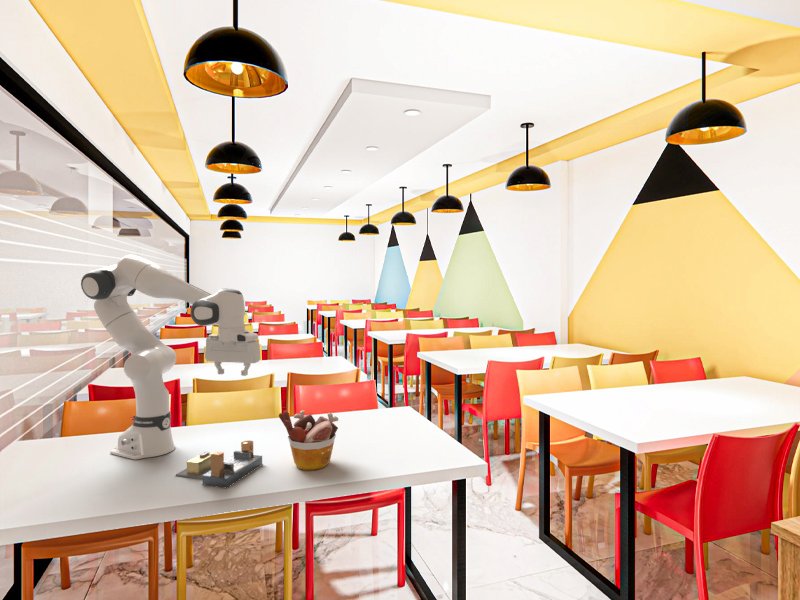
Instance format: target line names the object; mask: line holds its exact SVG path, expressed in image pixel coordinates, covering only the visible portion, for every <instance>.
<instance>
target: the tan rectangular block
mask: <svg viewBox="0 0 800 600" xmlns="http://www.w3.org/2000/svg"><path fill="white" fill-rule="evenodd" d="M211 454H212V453H210V451H204V452H202V453H200V454H198V455H196V456H194V457H193V458H191V459H189V460H187V461H186V468H187V474H195V475H199V474H201V473H203V472H205V471H206V470H208V469H210V468H211Z"/></svg>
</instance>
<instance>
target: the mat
mask: <svg viewBox="0 0 800 600" xmlns="http://www.w3.org/2000/svg"><path fill="white" fill-rule="evenodd" d="M209 471H211V468H210V469H208V470H206V471H205V472H203V473H201V474H199V475H195V474H187V467H186V468H185V469H183V470H181V471H178V472H177V473H175V477H180V478H187V479H188V478H189V479H196V480H202V475H204V474H205V473H207V472H209Z"/></svg>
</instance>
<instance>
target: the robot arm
mask: <svg viewBox="0 0 800 600" xmlns="http://www.w3.org/2000/svg"><path fill="white" fill-rule="evenodd" d="M80 281H81V282H80V286H81V290H82V292H83V294H84V295H85V297H88V298H89V299H92V300H95V301H94V303H93V309H94V311H95V313H96V315H97V317H98V319H99V320H100V322H101V324H102V325H103V327H104V328H105V330H106V331H107V332H108V333H109V335H110V336H111V337H112V339H113V340H114V342H115V343H116V344H117V346H118V347H120V348H123V349H124V350H126V351H127V352H129V353H130V354H131V355H130V356H129V357H128V358H126V359H125V361H124V364H123V372H124V374H125V376H126V377H127V378H129V380H130V381H131V383H132V387H133V390H134V395H135V407H136V408H135V410H136V414H135V415H134V416H131V417H130V421H132V425H131V426H128V428H127V429H126V430H124V431H123V432H122V433H121V434H119V436H118V439H117V446H115V447H113V448H111V450H110V455H115V456H117V457H118V456H119V457H123V458H127V459H131V460H140V459H145V458H146V459H147V458H152V457H158V456H162V455H166V454H169V453H170V452H173V451H174V450H175V449H176V446H175V444H174V439H173V434H172V427H171V423H172V414H171V411H170V392H169V390H168V389H167V388H166V386H165V382H164V380H163V379H164V378H163V374H165V373H167V372H169V371H170V370H171V369H172V368H173V367H174V366H175V364H176V363H177V353H176V351H175V350H174V349H173V348H172V347H170V346H168V345H167V344H165V343H163V342H162V341H161V340H160V339H159V338H158V337H157V336H156V335H154V333H152V332H151V330H149V329H148V327H147V326H146V325H145V324H144V323H143V321H142V320H141V319H140V317H139V316H138V315H137V313H136V312H135V310H134V309H133V308H132V307H131V306H130V304H129V303H128V297H132V296H133V295H134V294H135V293H136V290H137V291H138V292H140V293H141V294H144V295H146V296H148V297H152V298H155V299H169V300H170V299H171V300H180V301H183V302H187V303H188V304H190V305H191V307H190V317H191V320H192V321H193V323H195V324H196V325H198V326H201V327H208V326H209V327H210V326H215V325H217V329H218V330H217V332H218V334H209V335H208V336H207V337H206V339H205V351H204V359H205V360H206V362H214V366H215V368H216V370H217V375H224V374H225V368H223V367H222V365H221V364H222V363H238V364H241V363H242V364H243V366H244V368H243V369H242V370H241V371H240V375H241V377H243V376H244V377H246V376H249V375H248V372H249V370H250V367H251V364H256V363H259V362H260V360H261V348H260V343H259V342H258V340H259V334H258V333H255V332H253V331H250V330H248V329H246V324H245V321H244V319H245V315H246V310H245V309H246V307H245V299H244V295H243V293H242V292H241V291H240V290H238V289H233V288H221V289H219V290H217V292H215V293H214V294H211V293H210V292H207V291H205V290H204V289H201V288H199V287H198V286H195V285H193V284H191V283H189V282H187V281H186V280H183V279H182V278H179V277H178V276H176V275H174V274H173V273H172V272H170V271H168V270H167V269H165V268H163V267H162V266H159V265H158V264H156V263H155V262H153V261H151V260H148V259H146V258H143V257H141V256H137V255H134V254H128V255H124V256H123V257H121V258H120V259H119V261H118V262H117V263H116V264H112V265H107V266H105V267H101V268H98V269H93V270H90V271H89V272H87V273H85V274H84V275H83V276H82V277H81V280H80Z"/></svg>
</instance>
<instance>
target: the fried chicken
mask: <svg viewBox="0 0 800 600" xmlns="http://www.w3.org/2000/svg"><path fill="white" fill-rule="evenodd" d="M305 413H306V411H305V409H304V410H300V412H299V413H295V414H294V415H293V418H294V419H298V420H296V421H295V422H294V424H292V420H291V419H292V418H291V416H290V413H289V412H288V411H287V410H284V411H283V413H282V412H280V413H279V414H278V418H279V420H280V421H281V422H282V424H283V425H284V427H285V428H286V431H287V434H288V436H287V439H288V442H289V445H290V450H291V455H292V458H293V463H294V464H295V466H296V467H297V468H298V469H299V470H302V469H303V470H302V471H308V470H309V471H318V470H320V469H321V470H322V469H324V468H325V467H326V466H327V465H328V464H329V463H330V462H331V458H332V453H333V449H334V444H335V439H336V436H337V434H336V433H337V431H338V429H339V427H338V426H337V425H336V424H335V423H334V422H339V418H338V416H337V415H335V416H334V415H333V413H332V412H328V413H327V417H328V418H327V417H324V416H322V415H321V416H319V417H318V418H317V419H315V418H314V417H313V415H312V414H310V413H309V414H306V415H305Z"/></svg>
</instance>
